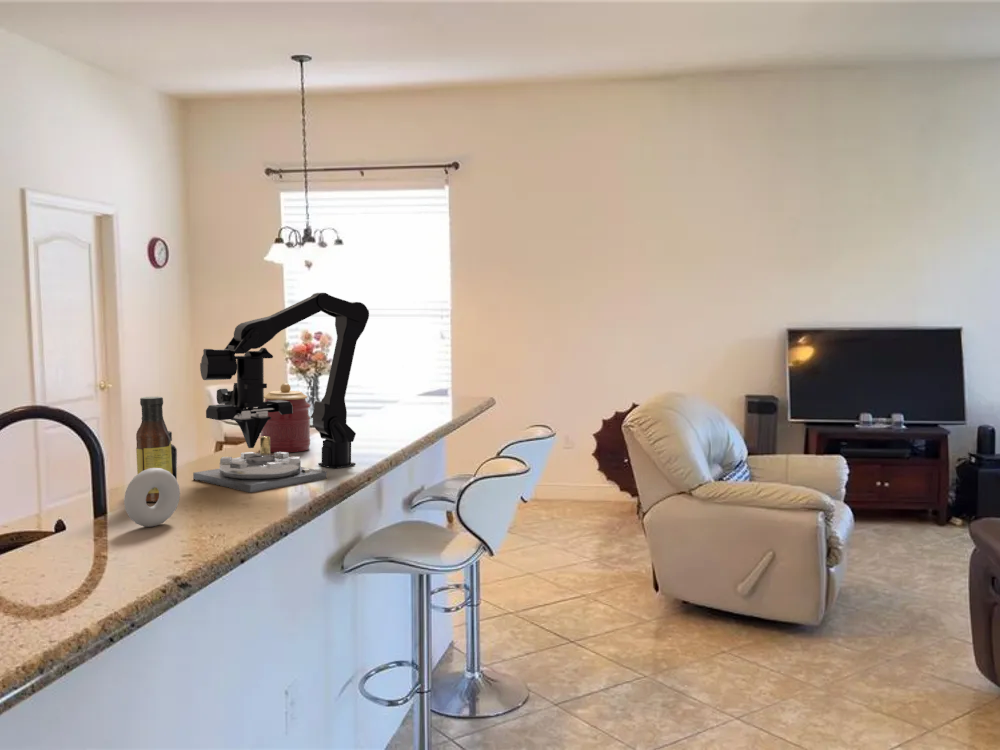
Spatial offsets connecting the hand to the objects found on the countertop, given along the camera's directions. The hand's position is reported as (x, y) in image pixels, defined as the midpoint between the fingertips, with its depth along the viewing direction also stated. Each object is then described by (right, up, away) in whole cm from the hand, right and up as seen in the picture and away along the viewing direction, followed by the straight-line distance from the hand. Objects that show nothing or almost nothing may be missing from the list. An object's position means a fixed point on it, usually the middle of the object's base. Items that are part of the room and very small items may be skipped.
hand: (250, 447), depth 189 cm
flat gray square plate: (+4, -6, -5) cm, 9 cm away
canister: (-1, -4, +35) cm, 35 cm away
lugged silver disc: (+4, -5, -5) cm, 8 cm away
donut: (-3, -9, -47) cm, 48 cm away
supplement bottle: (-13, -7, -19) cm, 24 cm away
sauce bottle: (-10, -8, -27) cm, 30 cm away
